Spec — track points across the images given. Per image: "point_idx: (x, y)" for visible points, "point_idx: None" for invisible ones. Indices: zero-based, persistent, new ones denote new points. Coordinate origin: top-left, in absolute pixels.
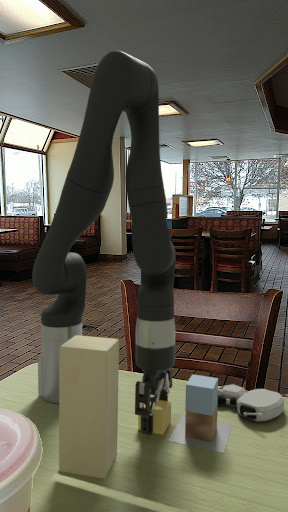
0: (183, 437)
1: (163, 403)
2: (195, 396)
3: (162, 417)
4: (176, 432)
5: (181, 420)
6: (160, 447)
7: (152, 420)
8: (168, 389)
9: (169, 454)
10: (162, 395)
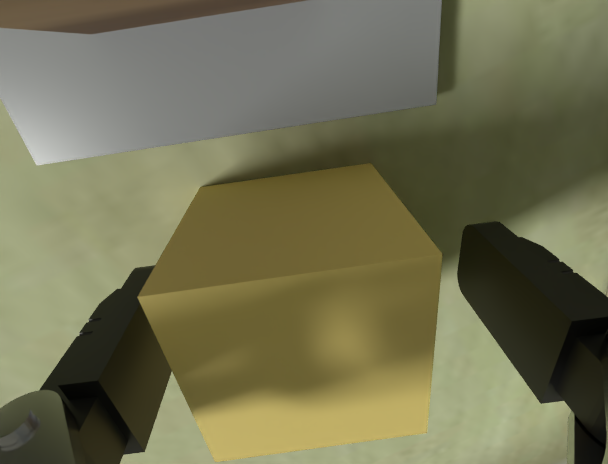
0: (345, 5)
1: (223, 341)
2: None
3: (423, 238)
4: (305, 96)
5: (118, 137)
6: (464, 133)
7: (558, 280)
8: (1, 461)
9: (526, 40)
10: (113, 416)
